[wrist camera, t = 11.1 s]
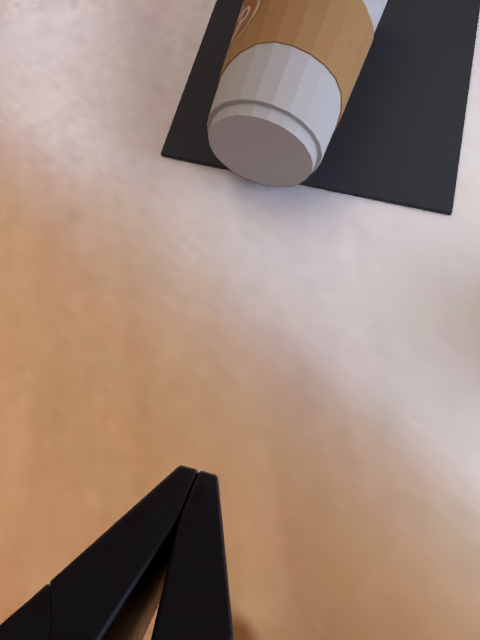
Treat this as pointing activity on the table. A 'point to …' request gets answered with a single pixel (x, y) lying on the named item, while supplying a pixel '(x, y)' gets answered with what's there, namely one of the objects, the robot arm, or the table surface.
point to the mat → (368, 105)
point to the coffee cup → (288, 84)
